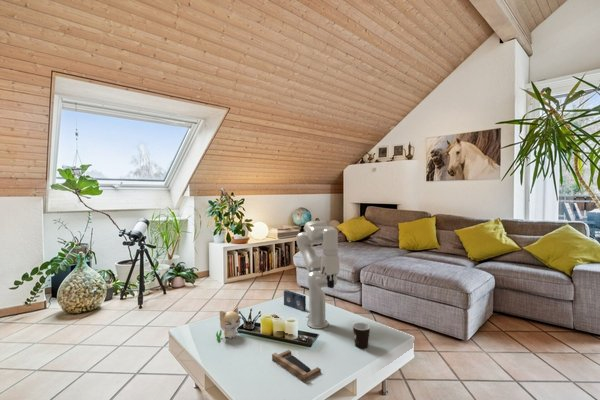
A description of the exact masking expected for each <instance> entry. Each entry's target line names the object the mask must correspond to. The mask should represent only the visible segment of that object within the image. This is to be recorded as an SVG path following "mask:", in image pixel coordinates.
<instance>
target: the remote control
mask: <svg viewBox="0 0 600 400" xmlns="http://www.w3.org/2000/svg"><path fill="white" fill-rule="evenodd" d="M285 359H286V360H288V361H289V362H291V363H292V364H294V365H296V366H297V367H299V368H300V369H302V370H303V371H305V372H306V373H308V372H309V371H311V370H312V369H311V367H308V365H306V364H305V363H303V362H302V361H301V360H300V359H299V358H297V357H295V355H289V356H287V357H285Z"/></svg>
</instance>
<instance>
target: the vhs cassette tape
mask: <svg viewBox="0 0 600 400" xmlns="http://www.w3.org/2000/svg"><path fill="white" fill-rule="evenodd" d="M306 298H307V297H306V295H304V294H301V293H297V292H294V291H290V290H288V289H285V290H283V305H284V306H286V307H290V308H292V309H295V310H298V311H300V312H305V311H306V310H307V309H306V307H307V306H306Z"/></svg>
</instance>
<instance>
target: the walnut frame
mask: <svg viewBox="0 0 600 400" xmlns="http://www.w3.org/2000/svg"><path fill="white" fill-rule="evenodd" d="M271 356H272V357H271V360H272V362H274V363H275V364H277V365H278V366H279V367H281V368H283V369H284V370H286V371H287V372H289V373H290V374H292V375H293V376H294V377H295V378H298V379H299V380H300V381H302V382H303V383H305V382H307V381H309V380H310V379H312V378H314V377H315V376H317V375H319V374H321V372H322V370H321V368H320V367H318V366H317V367H316V368H313V369H311V371H309V372H308V373H306V372H305V371H303V370H302V369H300V368H299V367H297V366H296V365H294V364H292V363H291V362H289V361H288V360H286V359H285V358H287V357H289V356H292V351H291V350H289V349H287V350H285V351H283V352H281V353H279V354H278V353H277V352H274V353H272V354H271Z"/></svg>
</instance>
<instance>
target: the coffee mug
mask: <svg viewBox="0 0 600 400" xmlns="http://www.w3.org/2000/svg"><path fill="white" fill-rule="evenodd" d="M352 330H353V331H352V332H353V338H354V339H353V340H354V347H356V348H357V349H362V350H364V349H367V348H368V346H369V339H370V331H371V326H370V325H369V324H368V323H365V322H356V323H354V324H352Z"/></svg>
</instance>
